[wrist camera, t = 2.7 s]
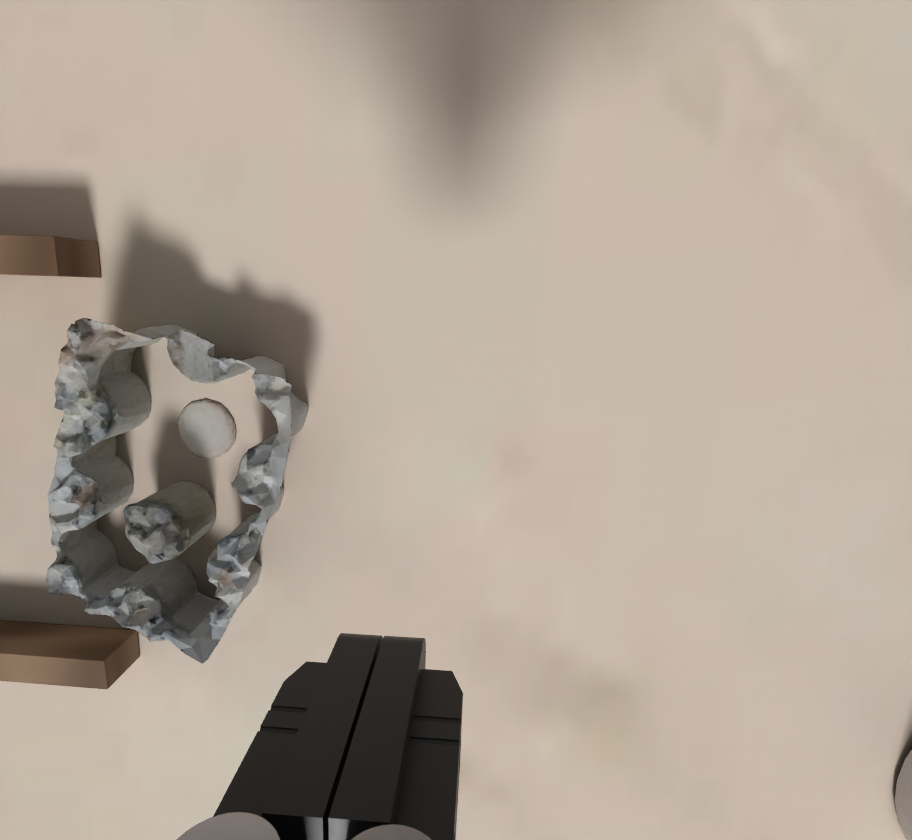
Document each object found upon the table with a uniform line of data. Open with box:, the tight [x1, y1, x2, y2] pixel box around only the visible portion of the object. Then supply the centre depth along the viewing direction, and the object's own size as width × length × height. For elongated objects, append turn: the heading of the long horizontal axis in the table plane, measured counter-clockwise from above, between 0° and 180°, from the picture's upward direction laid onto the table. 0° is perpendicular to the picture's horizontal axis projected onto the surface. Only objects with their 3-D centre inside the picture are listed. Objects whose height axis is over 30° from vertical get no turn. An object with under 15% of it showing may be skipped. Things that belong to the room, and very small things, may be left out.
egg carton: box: [46, 318, 308, 664], centre depth 20 cm, size 11×8×4 cm
